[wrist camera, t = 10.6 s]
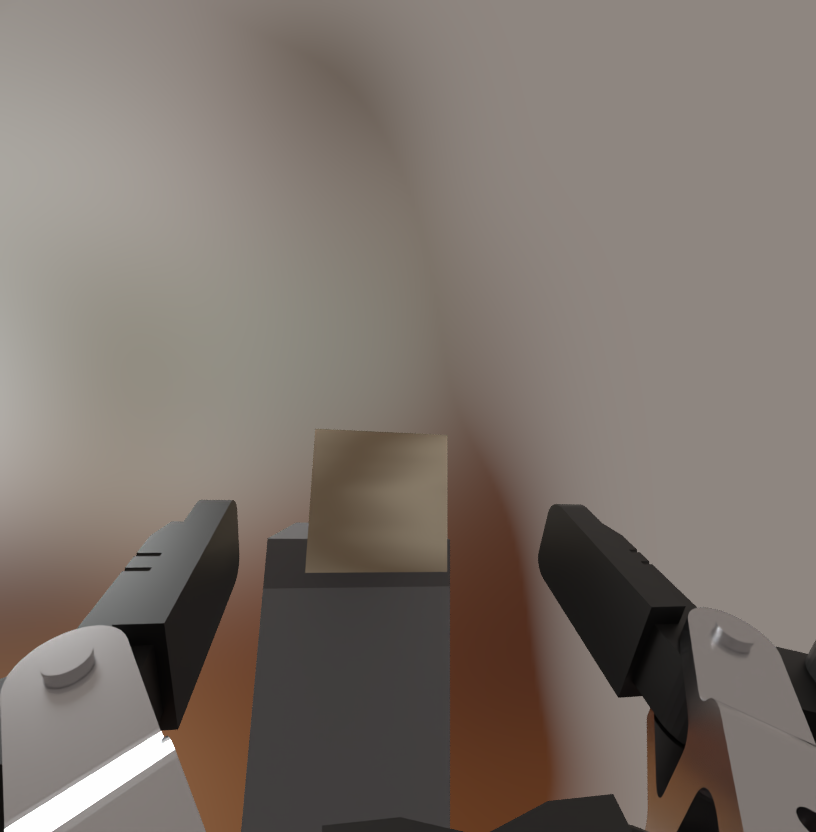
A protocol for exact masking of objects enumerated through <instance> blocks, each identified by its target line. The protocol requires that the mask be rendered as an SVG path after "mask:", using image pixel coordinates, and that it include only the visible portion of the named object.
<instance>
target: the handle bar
mask: <svg viewBox="0 0 816 832" xmlns="http://www.w3.org/2000/svg"><path fill="white" fill-rule="evenodd" d="M347 572H447V435H434V434H413V433H392V432H371V431H351V430H329V429H315V441H314V455H313V469H312V485H311V498H310V512H309V526H308V540H307V554H306V568H305V573H347Z"/></svg>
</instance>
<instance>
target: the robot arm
mask: <svg viewBox="0 0 816 832" xmlns="http://www.w3.org/2000/svg"><path fill="white" fill-rule="evenodd" d="M538 563H539V568H540V572H541V575H542V577H543V579H544V580H545V582H546V583H547V585H548V587H549V588H550V590H551V591H552V593H553V595H554V596H555V598H556V599H557V601H558V603H559V604H560V606H561V607H562V609H563V611H564V612H565V614H566V615H567V617H568V618H569V620H570V622H571V623H572V625H573V626H574V628H575V630H576V631H577V633H578V634H579V636H580V637H581V639H582V641H583V642H584V644H585V645H586V647H587V649H588V650H589V652H590V653H591V655H592V657H593V658H594V660H595V661H596V663H597V664H598V666H599V668H600V669H601V671H602V672H603V674H604V675H605V677H606V679H607V680H608V682H609V684H610V685H611V687H612V688H613V690H614V691H615V693H616V695H617V696H618V697H633V696H643V698H644V699H645V700H646V702H647V704H648V705H649V706H650V710H649V713H648V715H647V783H648V784H647V785H648V786H647V790H648V811H647V821H646V822H647V823H646V827H645V830H643V829H641V828H638V827H635V826H633V825H629V824H628V823H627V821H626V819H625V817H624V815H623V813H622V811H621V809H620V807H619V805H618V803H617V801H616V799H615V797H614V795H613V794H610V795H601V796H591V797H583V798H573V799H563V800H554V801H547V802H545V803H544V804H542V805H540V806H538V807H536V808H534V809H532V810H530V811H528V812H527V813H525V814H523V815H521V816H519V817H517V818H515V819H514V820H512V821H510V822H508V823H506V824H504V825H502V826H500V827H499V828H497V829H495V830H493V831H491V832H816V641H815V643H814V645H813V647H812V648H811V650H810V652H809V654H805V653H801V652H797V651H792V650H788V649H784V648H779V647H775V646H774V645H773V644H772V642H771V641H770V640H769V639H768V638H767V637H765V636H764V635H763V634H762V633H761V632H760V631H758V630H757V629H756V628H754V627H753V626H751V625H750V624H748V623H746V622H745V621H743V620H741V619H739V618H737V617H735V616H733V615H731V614H728V613H726V612H723V611H720V610H716V609H712V608H704V607H703V608H701V607H700V608H697V607H696V606H695V605H694V604H693V603H692V602H691V601H690V600H689V599H688V598H687V597H685V595H684V594H682V593H681V592H680V591H679V590H678V589H677V588H676V587H675V586H674V585H673V584H672V583H671V582H670V581H669V580H668V579H667V578H666V577H665V576H664V575H663V574H662V573H661V572H660V571H659V570H657V569H656V568H655V567H654V566H653V565H652V564H649V561H648V560H647V559H646V558H645V557H644V556H643V555H642V554H641V553H639V552H637V549H636V548H635V547H633V545H632V544H630V543H629V542H628V541H627V540H626V539H625V538H624V537H623V536H622V535H620V534H619V533H617V532H615V531H614V530H612V529H611V528H609V527H607V526H606V525H604V524H602V523H601V522H600V521H599V520H598V519H597V518H596V517H595V516H594V515H593V514H592V513H591V512H590V511H589V510H588V509H587V508H586V507H585V506H583V505H570V504H569V505H568V504H555V505H553V506H551V508H550V509H549V512H548V516H547V520H546V524H545V529H544V533H543V537H542V541H541V545H540V550H539V554H538ZM238 566H239V540H238V520H237V507H236V503H235V501H234V500H200V501H198V502H197V503H196V505H195V506H194V508H193V509H192V511H191V512H190V514H189V515H188V517H187V518H186V519H185V521H184V522H170V523H169V524H167V525H166V526H164V527H163V528H161V529H160V530H158V531H157V532H155V533H154V534H152V535H151V536H150V537H149V538H148V539H147V541H146V542H145V543H144V544H143V546H142V547H141V548H140V549H139V551H138V552H137V555H136V556H134V557H133V558H132V560H131V561H130V562H129V563H128V565H127V566H126V567H125V571H122V572H121V574H120V575H119V576H118V577H117V579H116V580H115V581H114V582H113V584H112V585H111V586H110V587H109V589H108V590H107V591H106V593H105V594H104V595H103V596H102V598H101V599H100V600H99V601H98V603H97V604H96V605H95V607H94V608H93V609H92V610H91V612H90V613H89V614H88V615H87V617H86V618H85V619H84V620H83V622H82V623H81V624H80V625H79V627H78V628H77V629H75V630H72V631H69V632H66V633H64V634H62V635H59V636H57V637H55V638H53V639H51V640H49V641H47V642H45V643H44V644H42V645H40V646H39V647H38V648H36V649H35V650H33V651H32V652H30V653H29V654H28V655H27V656H25V657H24V658H23V659H22V660H21V661H20V662H19V663H18V664H17V665H16V666H15V667H14V668H13V670H12V671H11V672H10V673H9V675H8V676H7V677H5V678H2V679H0V832H206V831H205V829H204V826H203V823H202V820H201V818H200V815H199V812H198V810H197V807H196V804H195V802H194V799H193V796H192V794H191V791H190V788H189V785H188V783H187V780H186V777H185V775H184V772H183V770H182V767H181V764H180V762H179V759H178V756H177V754H176V751H175V748H174V746H173V744H172V742H171V740H170V739H169V737H168V736H166V737H163V735H162V733H161V730H175V729H178V728H179V726H180V723H181V720H182V718H183V715H184V713H185V710H186V708H187V705H188V702H189V700H190V697H191V695H192V692H193V690H194V687H195V684H196V682H197V679H198V677H199V674H200V671H201V669H202V667H203V664H204V661H205V659H206V656H207V654H208V651H209V648H210V646H211V643H212V641H213V638H214V636H215V633H216V631H217V628H218V625H219V623H220V620H221V618H222V615H223V613H224V610H225V607H226V605H227V602H228V600H229V597H230V595H231V592H232V589H233V587H234V584H235V581H236V578H237V573H238ZM322 832H462V831H458V830H454V829H449V828H445V827H441V826H436V825H432V824H428V823H423V822H419V821H415V820H411V819H406V818H402V817H396V818H387V819H378V820H368V821H359V822H350V823H341V824H331V825H322Z"/></svg>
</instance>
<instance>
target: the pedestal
mask: <svg viewBox="0 0 816 832" xmlns="http://www.w3.org/2000/svg"><path fill="white" fill-rule="evenodd" d="M308 526H309V523H295V524H293V525H291V526H289V527H288V528H286V529H284V530H282V531H280V532H279V533H277V534H275V535H273V536H272V537H270V538H268V541H267V553H266V563H265V575H264V586H263V597H262V608H261V619H260V630H259V641H258V652H257V663H256V675H255V685H254V696H253V707H252V718H251V730H250V740H249V751H248V762H247V773H246V785H245V795H244V807H243V817H242V829H241V832H322V825H331V824H341V823H350V822H359V821H368V820H378V819H387V818H396V817H402V818H406V819H411V820H415V821H419V822H423V823H428V824H432V825H436V826H441V827H445V828H449V829H450V540H449V539H447V572H347V573H305V568H306V554H307V540H308Z"/></svg>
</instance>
